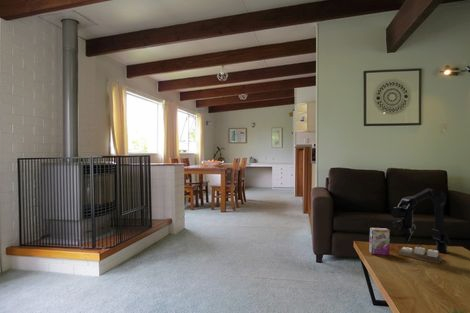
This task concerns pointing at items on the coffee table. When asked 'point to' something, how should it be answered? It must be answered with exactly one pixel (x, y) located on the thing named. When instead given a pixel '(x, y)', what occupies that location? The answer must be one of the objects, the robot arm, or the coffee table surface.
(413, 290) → the coffee table surface
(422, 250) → the two pip tile
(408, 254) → the brown dotted block frame
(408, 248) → the three pip tile
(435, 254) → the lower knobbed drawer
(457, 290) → the coffee table surface
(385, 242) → the candy bar box
